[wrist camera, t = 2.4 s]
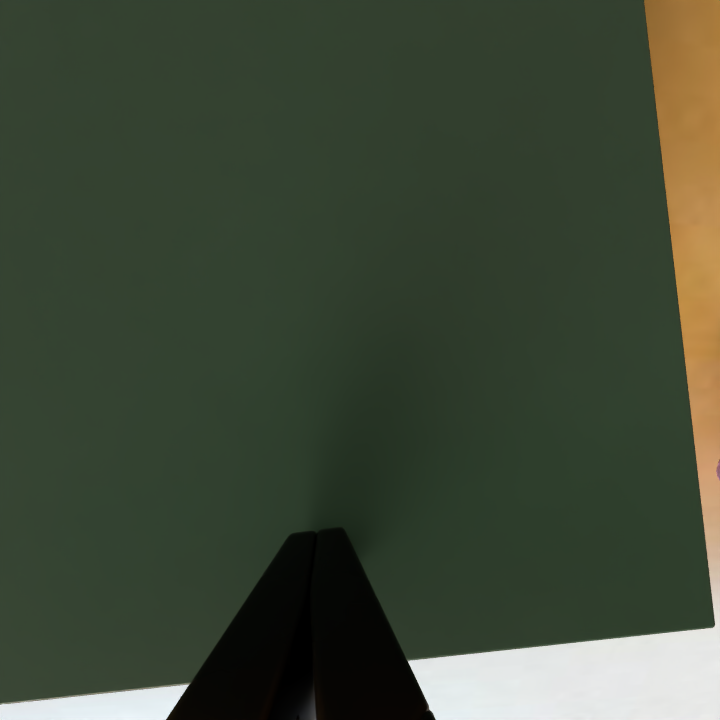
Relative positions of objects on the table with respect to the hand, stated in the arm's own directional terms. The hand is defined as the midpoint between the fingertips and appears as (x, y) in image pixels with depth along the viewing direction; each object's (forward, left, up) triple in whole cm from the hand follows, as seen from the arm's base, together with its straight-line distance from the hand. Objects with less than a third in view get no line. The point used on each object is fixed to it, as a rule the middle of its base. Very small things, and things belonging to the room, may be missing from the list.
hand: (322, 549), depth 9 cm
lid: (+4, 0, -3) cm, 5 cm away
